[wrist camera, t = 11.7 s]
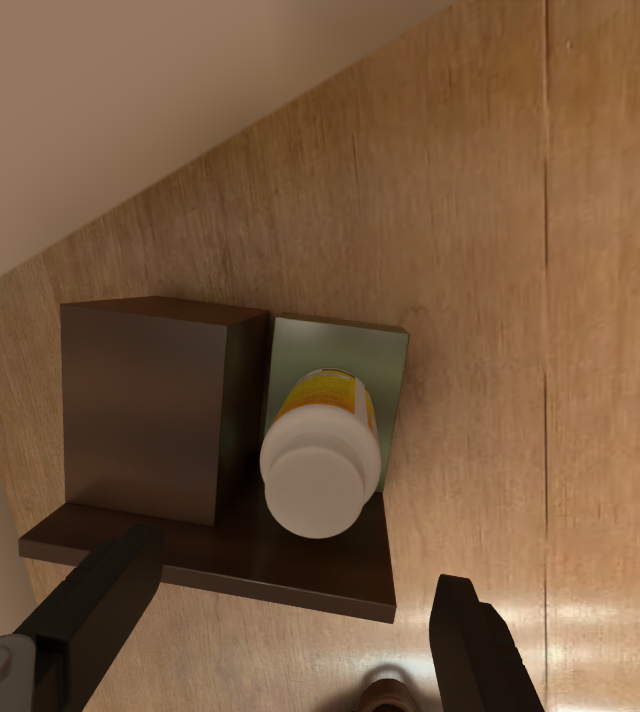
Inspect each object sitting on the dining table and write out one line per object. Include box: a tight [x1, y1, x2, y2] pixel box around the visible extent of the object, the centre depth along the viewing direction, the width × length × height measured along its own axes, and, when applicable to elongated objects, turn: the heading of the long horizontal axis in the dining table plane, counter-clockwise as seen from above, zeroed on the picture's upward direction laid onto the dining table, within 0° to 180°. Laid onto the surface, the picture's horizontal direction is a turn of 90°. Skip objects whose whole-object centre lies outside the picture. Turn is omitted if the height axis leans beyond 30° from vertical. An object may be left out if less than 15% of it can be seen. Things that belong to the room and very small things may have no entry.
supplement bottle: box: [260, 368, 381, 538], centre depth 20 cm, size 6×6×10 cm
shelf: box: [18, 296, 410, 624], centre depth 22 cm, size 12×18×12 cm, turn 83°
